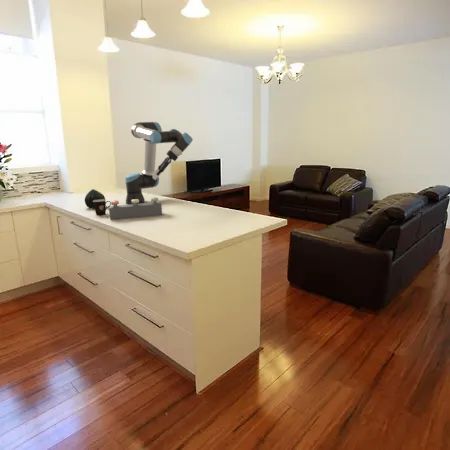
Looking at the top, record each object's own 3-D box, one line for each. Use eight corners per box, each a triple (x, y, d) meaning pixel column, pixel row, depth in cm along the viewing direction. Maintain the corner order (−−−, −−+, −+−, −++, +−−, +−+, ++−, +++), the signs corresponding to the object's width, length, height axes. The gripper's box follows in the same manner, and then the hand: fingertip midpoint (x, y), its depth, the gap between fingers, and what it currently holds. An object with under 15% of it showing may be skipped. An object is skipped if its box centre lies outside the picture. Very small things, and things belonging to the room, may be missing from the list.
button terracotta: (119, 207, 229) (118, 200, 228) (119, 208, 225) (118, 201, 224) (112, 207, 228) (111, 201, 227) (111, 209, 224) (110, 202, 223)
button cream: (139, 205, 232) (138, 198, 231) (139, 206, 228) (138, 200, 227) (132, 206, 231) (131, 199, 230) (131, 207, 227) (131, 200, 226)
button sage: (158, 203, 235) (158, 197, 234) (159, 205, 231) (158, 198, 229) (151, 204, 234) (150, 197, 233) (151, 205, 230) (151, 199, 228)
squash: (96, 203, 253) (101, 186, 260) (78, 204, 257) (83, 187, 263) (106, 212, 266) (110, 195, 272) (89, 213, 269) (93, 196, 276)
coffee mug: (93, 216, 237) (91, 202, 235) (95, 213, 245) (93, 199, 243) (110, 214, 239) (109, 200, 237) (112, 212, 248) (110, 198, 245)
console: (161, 213, 238) (160, 201, 236) (162, 215, 232) (161, 203, 230) (111, 217, 231) (109, 206, 229) (110, 220, 224) (108, 208, 222)
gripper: (180, 158, 216) (158, 183, 217) (176, 156, 239) (157, 178, 240) (171, 150, 214) (149, 175, 214) (168, 148, 237) (148, 171, 238)
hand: (153, 177), depth 227 cm, fingers open, 13 cm apart
